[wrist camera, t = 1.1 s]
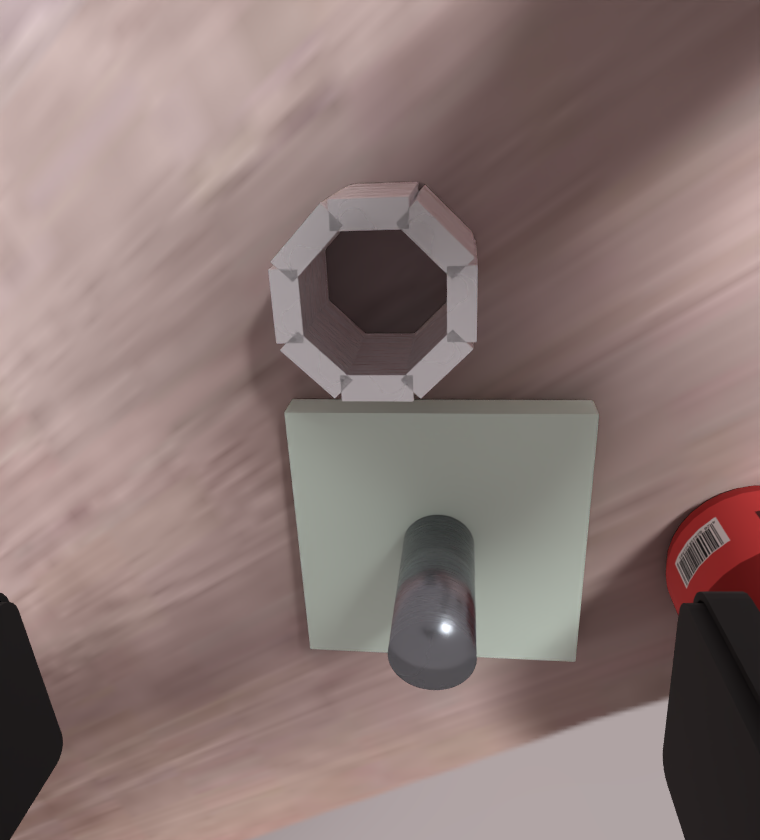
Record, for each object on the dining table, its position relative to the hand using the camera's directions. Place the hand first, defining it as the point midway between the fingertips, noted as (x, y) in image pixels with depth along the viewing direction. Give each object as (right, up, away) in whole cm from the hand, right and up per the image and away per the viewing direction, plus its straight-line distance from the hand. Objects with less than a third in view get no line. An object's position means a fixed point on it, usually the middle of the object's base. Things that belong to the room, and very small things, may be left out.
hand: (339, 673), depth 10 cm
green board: (+3, -1, +23) cm, 23 cm away
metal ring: (+1, +10, +18) cm, 20 cm away
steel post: (+3, -2, +21) cm, 22 cm away
